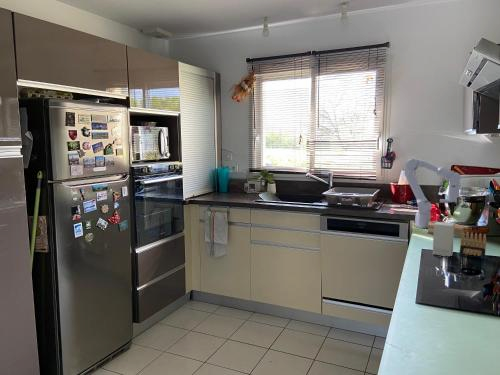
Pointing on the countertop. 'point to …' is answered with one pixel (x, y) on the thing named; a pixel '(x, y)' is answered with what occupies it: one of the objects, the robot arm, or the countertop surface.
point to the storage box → (456, 231)
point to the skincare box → (443, 238)
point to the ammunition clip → (473, 245)
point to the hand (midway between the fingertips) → (452, 215)
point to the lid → (456, 226)
